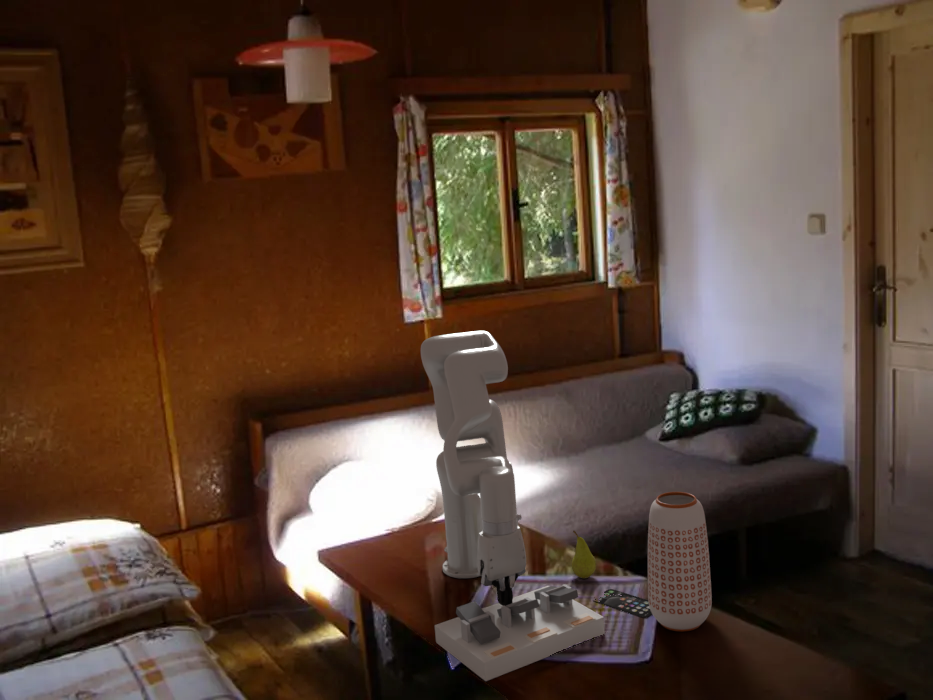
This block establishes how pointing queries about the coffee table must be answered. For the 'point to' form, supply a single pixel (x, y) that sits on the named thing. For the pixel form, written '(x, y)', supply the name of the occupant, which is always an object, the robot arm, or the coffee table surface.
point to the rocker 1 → (478, 622)
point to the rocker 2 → (520, 606)
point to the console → (520, 635)
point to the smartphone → (626, 603)
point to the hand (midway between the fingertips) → (505, 604)
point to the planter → (678, 562)
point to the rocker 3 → (557, 594)
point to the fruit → (583, 559)
